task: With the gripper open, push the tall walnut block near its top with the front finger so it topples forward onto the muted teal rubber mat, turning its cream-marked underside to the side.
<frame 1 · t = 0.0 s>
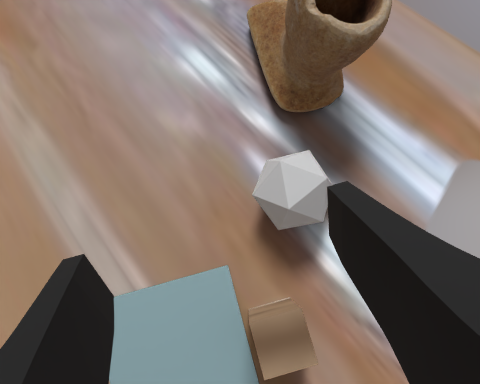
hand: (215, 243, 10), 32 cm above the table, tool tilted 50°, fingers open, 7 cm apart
mat: (178, 353, 40), on the table
walnut block: (275, 325, 41), on the table
die: (289, 196, 44), on the table
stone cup: (302, 61, 47), on the table
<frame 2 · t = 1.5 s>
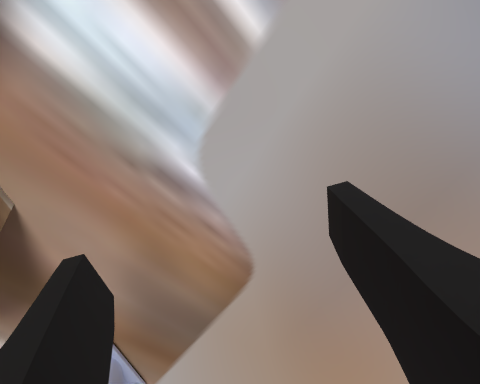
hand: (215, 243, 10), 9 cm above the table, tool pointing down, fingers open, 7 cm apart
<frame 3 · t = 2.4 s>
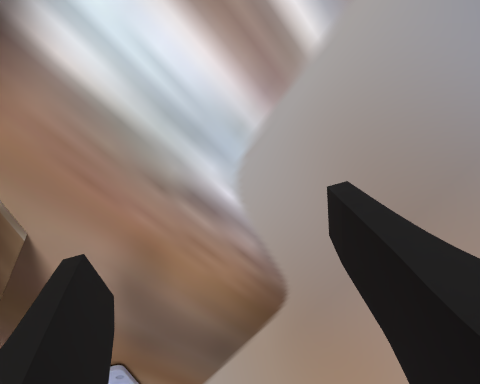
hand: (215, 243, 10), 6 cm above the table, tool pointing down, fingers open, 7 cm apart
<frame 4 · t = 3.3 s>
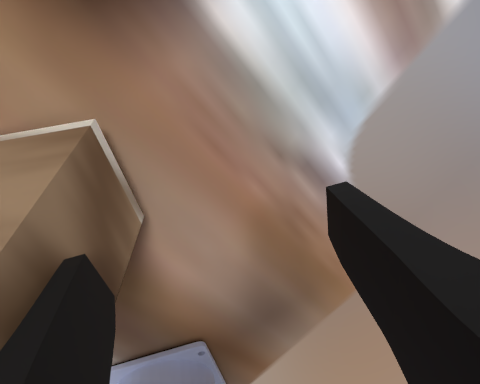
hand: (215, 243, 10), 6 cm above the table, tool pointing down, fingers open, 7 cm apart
walnut block: (66, 181, 15), point 1 cm above the table, tilted 13°
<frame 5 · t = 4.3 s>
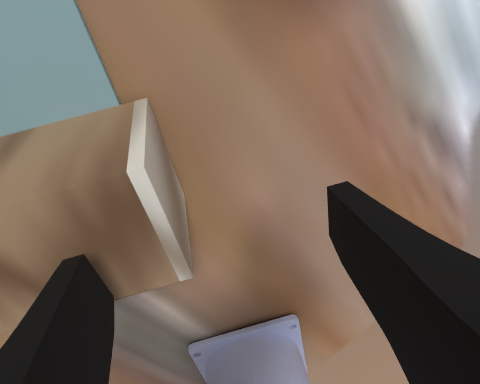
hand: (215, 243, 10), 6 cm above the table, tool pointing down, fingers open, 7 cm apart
walnut block: (169, 184, 13), point 3 cm above the table, tilted 90°, touching mat
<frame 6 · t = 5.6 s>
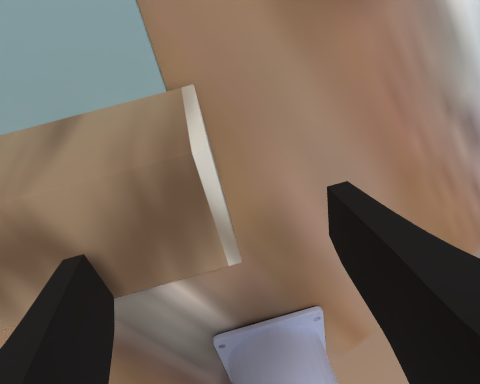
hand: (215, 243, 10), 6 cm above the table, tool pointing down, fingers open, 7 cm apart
mat: (4, 190, 15), on the table
walnut block: (217, 170, 13), point 3 cm above the table, tilted 90°, touching mat
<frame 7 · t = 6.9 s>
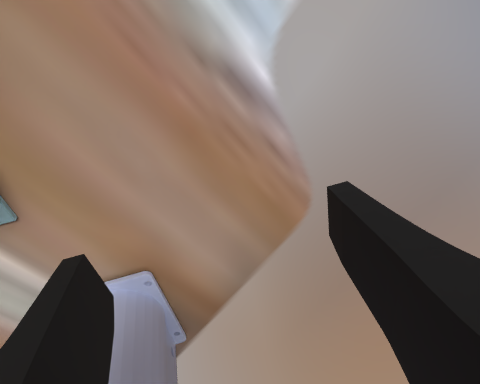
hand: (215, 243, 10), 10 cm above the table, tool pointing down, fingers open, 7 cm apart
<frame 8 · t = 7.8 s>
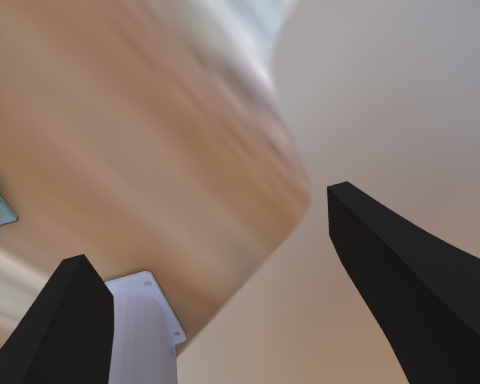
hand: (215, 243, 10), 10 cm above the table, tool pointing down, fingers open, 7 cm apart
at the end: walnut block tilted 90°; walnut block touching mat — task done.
